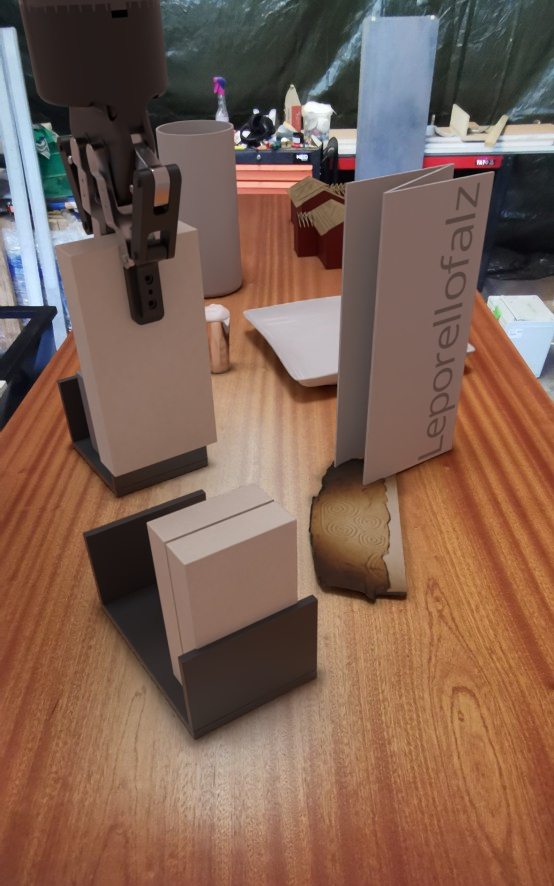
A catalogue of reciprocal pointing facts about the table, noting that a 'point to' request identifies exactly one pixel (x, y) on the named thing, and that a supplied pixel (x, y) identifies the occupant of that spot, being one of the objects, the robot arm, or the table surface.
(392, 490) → the parchment
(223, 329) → the milkshake
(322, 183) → the toy houses
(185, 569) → the book holder
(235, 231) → the cylinder vase
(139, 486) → the grey rack
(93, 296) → the white book
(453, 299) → the brochure
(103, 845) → the table surface
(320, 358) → the square plate
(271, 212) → the table surface
